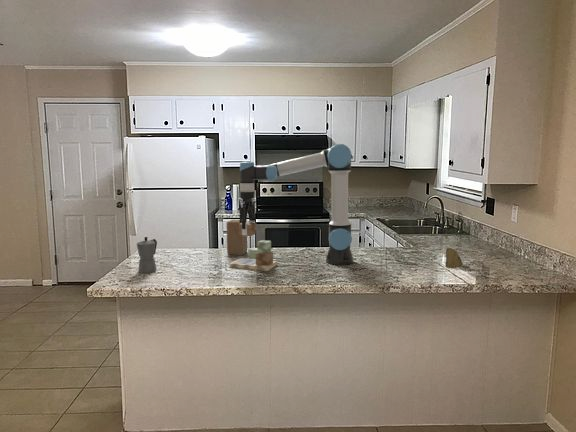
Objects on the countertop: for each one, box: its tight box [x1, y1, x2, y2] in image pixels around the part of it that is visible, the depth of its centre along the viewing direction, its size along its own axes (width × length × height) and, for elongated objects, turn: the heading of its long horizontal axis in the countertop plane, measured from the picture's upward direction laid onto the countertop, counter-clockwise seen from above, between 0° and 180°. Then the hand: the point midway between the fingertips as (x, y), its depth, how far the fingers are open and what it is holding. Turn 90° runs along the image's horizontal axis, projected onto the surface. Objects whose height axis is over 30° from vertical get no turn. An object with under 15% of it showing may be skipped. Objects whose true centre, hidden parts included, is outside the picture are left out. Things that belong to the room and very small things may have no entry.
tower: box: [256, 239, 274, 266], centre depth 236 cm, size 7×7×12 cm
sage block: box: [247, 247, 257, 259], centre depth 255 cm, size 6×6×6 cm
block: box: [226, 219, 248, 256], centre depth 268 cm, size 10×10×20 cm
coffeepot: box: [136, 236, 158, 274], centre depth 230 cm, size 15×9×18 cm, turn 162°
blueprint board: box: [229, 257, 278, 272], centre depth 239 cm, size 22×13×2 cm, turn 69°
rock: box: [444, 247, 463, 269], centre depth 237 cm, size 11×9×10 cm
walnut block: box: [239, 221, 257, 237], centre depth 238 cm, size 7×7×6 cm
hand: (247, 233), depth 238 cm, fingers closed on walnut block, 7 cm apart
